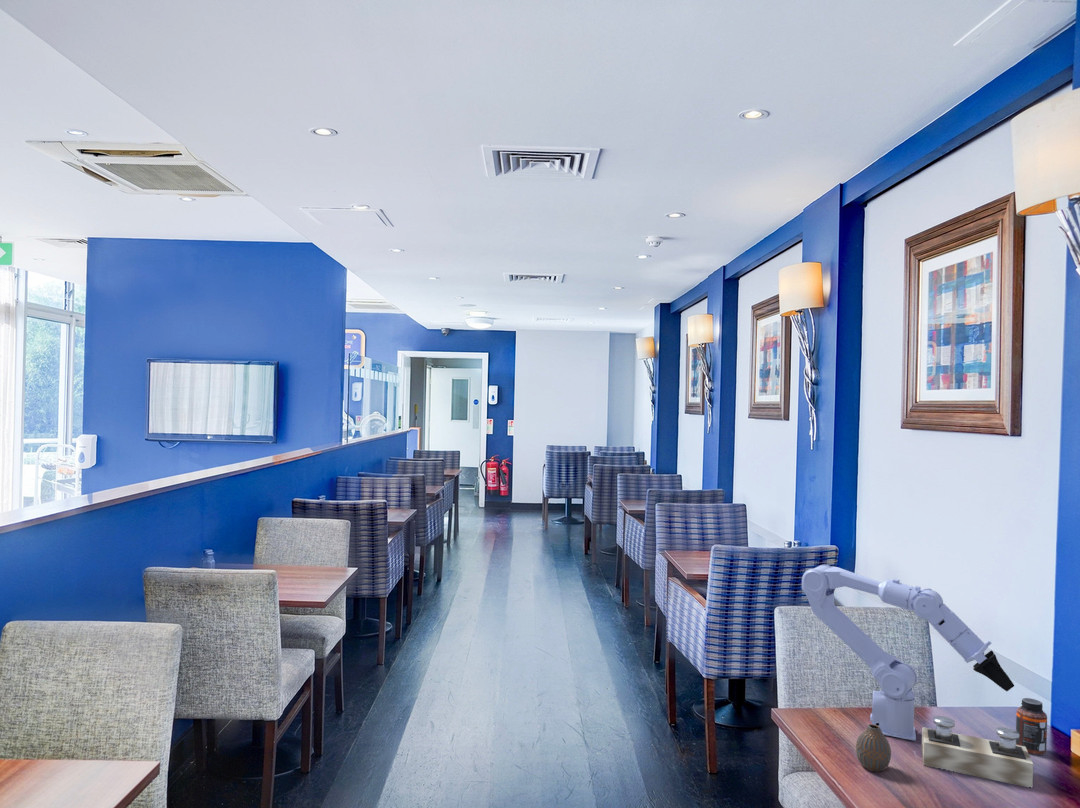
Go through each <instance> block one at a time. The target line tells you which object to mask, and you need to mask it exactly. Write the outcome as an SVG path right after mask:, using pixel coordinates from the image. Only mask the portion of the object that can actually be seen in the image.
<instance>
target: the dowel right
mask: <svg viewBox="0 0 1080 808" xmlns="http://www.w3.org/2000/svg"><path fill="white" fill-rule="evenodd" d="M995 733H996V735H998V742H999V751H1002V752H1007V753H1012V754H1015V750H1016V740H1017V739H1019V733H1018V732H1017V731H1016V729H1012V728H1008V727H1003V726H1002V727H1001V726H1000V727H996V729H995Z"/></svg>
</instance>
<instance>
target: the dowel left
mask: <svg viewBox="0 0 1080 808" xmlns="http://www.w3.org/2000/svg"><path fill="white" fill-rule="evenodd" d="M932 719H933V721H932V722H933V723H934V724H935V730H936V739H940V740H946V741H951V733H953V732H952V730H953V729H952V728H955V726H956V722H955V720H954V719H953V718H950V717H948V716H943V715H934V716H933V717H932Z"/></svg>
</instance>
